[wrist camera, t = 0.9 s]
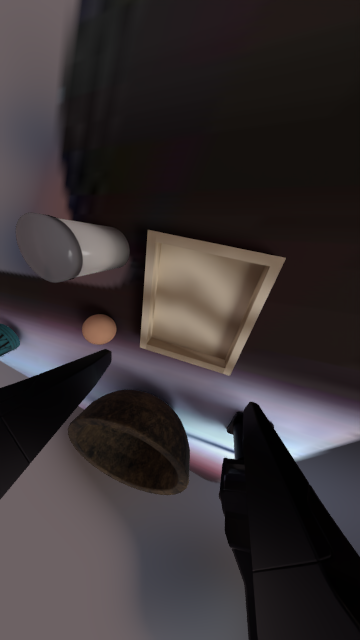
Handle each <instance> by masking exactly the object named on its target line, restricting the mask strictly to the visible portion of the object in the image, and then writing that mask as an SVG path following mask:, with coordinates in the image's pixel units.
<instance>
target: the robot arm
mask: <svg viewBox="0 0 360 640" xmlns="http://www.w3.org/2000/svg"><path fill="white" fill-rule="evenodd" d="M110 363H111V351H109V350H107V349H104V350H101V351H99V352H96V353H93V354H91V355H88V356H85V357H83V358H80V359H78V360H75V361H72V362H70V363H67V364H65V365H62V366H59V367H57V368H54V369H52V370H49V371H46V372H44V373H41V374H39V375H36V376H33V377H31V378H28V379H25V380H22V381H20V382H17V383H14V384H11V385H8V386H5V387H2V388H0V499H1V498H2V497H3V496H4V494H5V493H6V492H7V490H8V489H9V488H10V487H11V486H12V485H13V484H14V482H15V481H16V480H17V479H18V478H19V476H20V475H21V474H22V473H23V472H24V470H25V469H26V468H27V467H28V466H29V464H30V463H31V462H32V461H33V459H34V458H35V457H36V456H37V455H38V453H39V452H40V451H41V450H42V449H43V447H44V446H45V445H46V444H47V443H48V441H49V440H50V439H51V438H52V437H53V435H54V434H55V433H56V432H57V431H58V429H59V428H60V427H61V426H62V425H63V423H64V422H65V421H66V420H67V419H68V417H69V416H70V415H71V414H72V413H73V411H74V410H75V409H76V408H77V407H78V405H79V404H80V403H81V402H82V401H83V399H84V398H85V397H86V396H87V395H88V393H89V392H90V391H91V390H92V389H93V387H94V386H95V385H96V384H97V382H98V381H99V379H100V378H101V376H102V375H103V373H104V372H105V371H106V369H107V368H108V366H109V365H110ZM227 432H228V433H230V434H233V435H234V452H235V459H227V458H224V460H223V464H222V474H221V483H220V492H219V499H220V500H221V503H222V509H223V513H224V516H225V534H226V537H227V540H228V543H229V546H230V547H231V548H232V551H233V553H234V556H235V559H236V562H237V564H238V567H239V570H240V573H241V575H242V579H243V581H244V585H245V595H246V609H247V622H248V636H249V640H360V557H359V555H358V554H357V553H356V551H355V550H354V548H353V547H352V545H351V544H350V543H349V541H348V540H347V538H346V537H345V536H344V534H343V533H342V531H341V530H340V528H339V527H338V526H337V524H336V523H335V521H334V520H333V518H332V517H331V516H330V514H329V513H328V511H327V510H326V508H325V507H324V505H323V504H322V502H321V501H320V499H319V498H318V496H317V494H316V493H315V491H314V490H313V488H312V487H311V486H310V485H309V482H308V481H307V479H306V478H305V476H304V474H303V473H302V471H301V470H300V468H299V467H298V465H297V464H296V462H295V461H294V459H293V457H292V456H291V454H290V453H289V451H288V450H287V448H286V447H285V445H284V444H283V442H282V440H281V439H280V437H279V436H278V434H277V433H276V431H275V430H274V425H273V424H272V423H270V422H269V420H268V419H267V417H266V416H265V414H264V413H263V411H262V410H261V408H260V406H259V405H258V404H256V403H254V402H249V404H248V405H247V406H246V408H245V409H244V412H243V413H241V412H237V413H236V415H235V417H234V418H233V420H232V421H231V423H230V425H229V426H228V428H227Z"/></svg>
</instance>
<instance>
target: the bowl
mask: <svg viewBox="0 0 360 640" xmlns="http://www.w3.org/2000/svg"><path fill="white" fill-rule="evenodd" d="M68 435H69V438H70V441H71V443H72V444H73V446H74V447H75V449H76V450H77V451H78V452H79V453H80V454H81V455H82V456H83V457H84V458H85V459H86V460H87V461H88V462H89V463H91V464H92V465H93V466H94V467H96V468H97V469H99V470H100V471H102V472H103V473H105V474H106V475H108V476H110V477H112V478H113V479H115V480H117V481H119V482H121V483H123V484H126V485H128V486H130V487H133V488H136V489H138V490H142V491H145V492H149V493H154V494H160V495H171V494H172V495H173V494H177V493H181V492H182V491H183V490H185V489H186V488H187V485H188V483H189V461H190V449H189V444H188V439H187V435H186V432H185V430H184V427H183V425H182V422H181V420H180V419H179V417H178V415H177V414H176V413H175V412H174V411H173V410H172V409H171V407H170V406H169V405H168V404H166V403H165V402H164V401H163V400H161V399H159V398H158V397H156V396H154V395H152V394H150V393H147V392H143V391H138V390H120V391H116V392H113V393H110V394H107V395H105V396H102V397H101V398H99V399H97V400H96V401H94V402H92V403H91V404H90V405H89V406H88V407H87V408H86V409H85V410H84V411H83V412H82V413H81V414H80V415H79V416H77V417H76V418H75V419H74V420H73V421H72V422H71V423H70V425H69V428H68Z"/></svg>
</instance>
